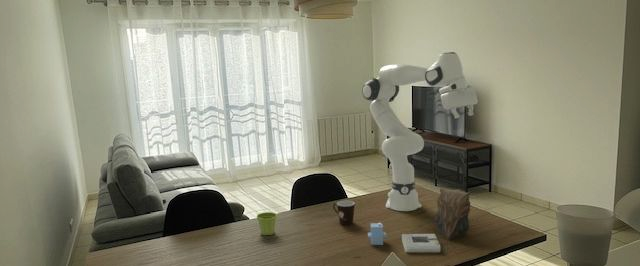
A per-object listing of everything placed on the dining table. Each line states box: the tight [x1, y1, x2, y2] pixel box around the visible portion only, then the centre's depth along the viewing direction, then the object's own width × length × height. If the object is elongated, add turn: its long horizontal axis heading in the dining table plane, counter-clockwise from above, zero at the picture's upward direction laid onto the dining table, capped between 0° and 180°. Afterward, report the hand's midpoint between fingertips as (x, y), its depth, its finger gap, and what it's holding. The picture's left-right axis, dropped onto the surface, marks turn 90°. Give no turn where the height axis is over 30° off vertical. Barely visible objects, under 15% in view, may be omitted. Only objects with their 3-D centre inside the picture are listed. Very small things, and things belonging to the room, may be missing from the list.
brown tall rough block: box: [434, 188, 471, 242], centre depth 197 cm, size 13×13×20 cm
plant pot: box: [256, 211, 278, 236], centre depth 206 cm, size 9×9×9 cm
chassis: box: [401, 233, 441, 253], centre depth 186 cm, size 12×14×3 cm
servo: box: [367, 222, 387, 246], centre depth 191 cm, size 4×8×9 cm, turn 86°
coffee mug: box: [332, 200, 356, 226], centre depth 216 cm, size 12×9×10 cm
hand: (464, 116), depth 197 cm, fingers open, 8 cm apart
